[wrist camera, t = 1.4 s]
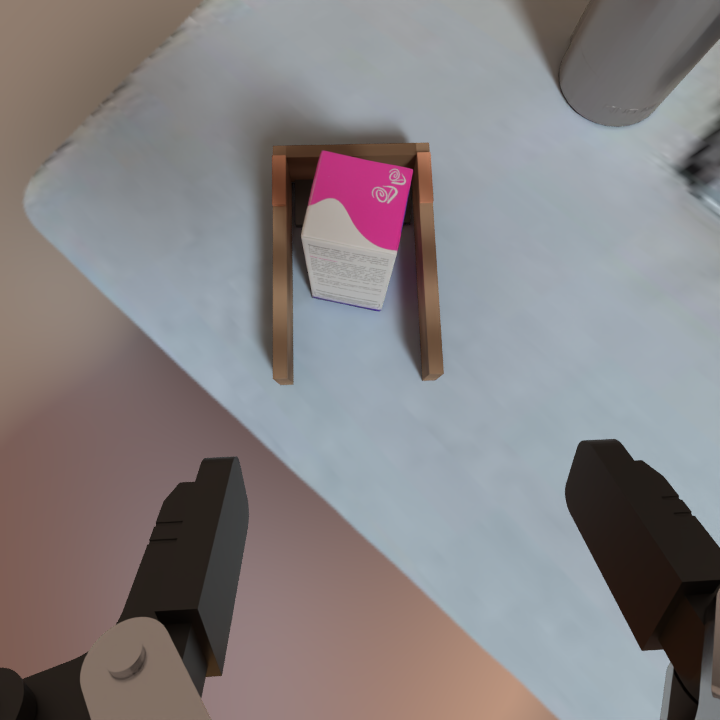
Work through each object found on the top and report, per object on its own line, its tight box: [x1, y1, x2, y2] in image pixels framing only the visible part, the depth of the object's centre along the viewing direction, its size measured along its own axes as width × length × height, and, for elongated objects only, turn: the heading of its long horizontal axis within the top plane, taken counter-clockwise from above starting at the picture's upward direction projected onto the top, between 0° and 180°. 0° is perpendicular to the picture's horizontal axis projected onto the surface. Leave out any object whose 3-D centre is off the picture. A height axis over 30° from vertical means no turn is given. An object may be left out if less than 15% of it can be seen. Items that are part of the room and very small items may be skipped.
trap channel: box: [272, 143, 444, 385], centre depth 37 cm, size 18×12×4 cm, turn 2°
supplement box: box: [301, 150, 413, 311], centre depth 33 cm, size 6×6×12 cm
